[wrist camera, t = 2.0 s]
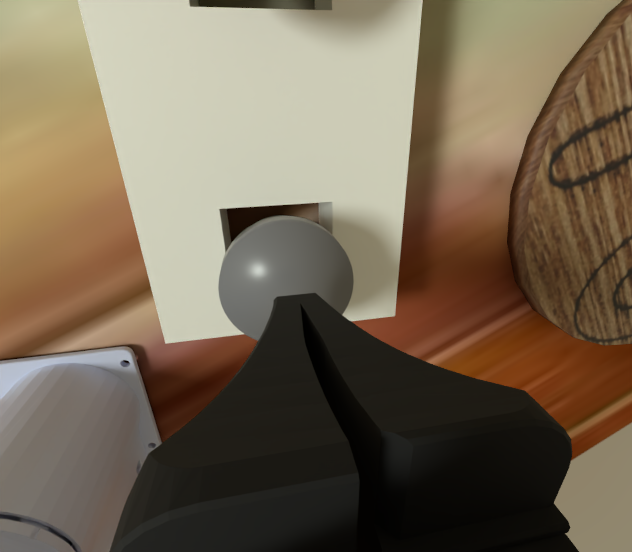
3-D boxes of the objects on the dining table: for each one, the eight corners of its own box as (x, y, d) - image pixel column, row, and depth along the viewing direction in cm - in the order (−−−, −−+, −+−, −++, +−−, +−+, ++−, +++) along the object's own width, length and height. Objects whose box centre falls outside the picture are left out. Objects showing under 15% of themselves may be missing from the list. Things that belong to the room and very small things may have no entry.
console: (373, 287, 22) (394, 315, 18) (178, 308, 20) (165, 343, 17) (398, -166, 13) (445, -255, 10) (64, -203, 11) (-7, -327, 8)
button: (333, 298, 18) (352, 336, 14) (232, 309, 17) (228, 352, 14) (333, 198, 15) (355, 217, 12) (217, 205, 15) (208, 228, 11)
